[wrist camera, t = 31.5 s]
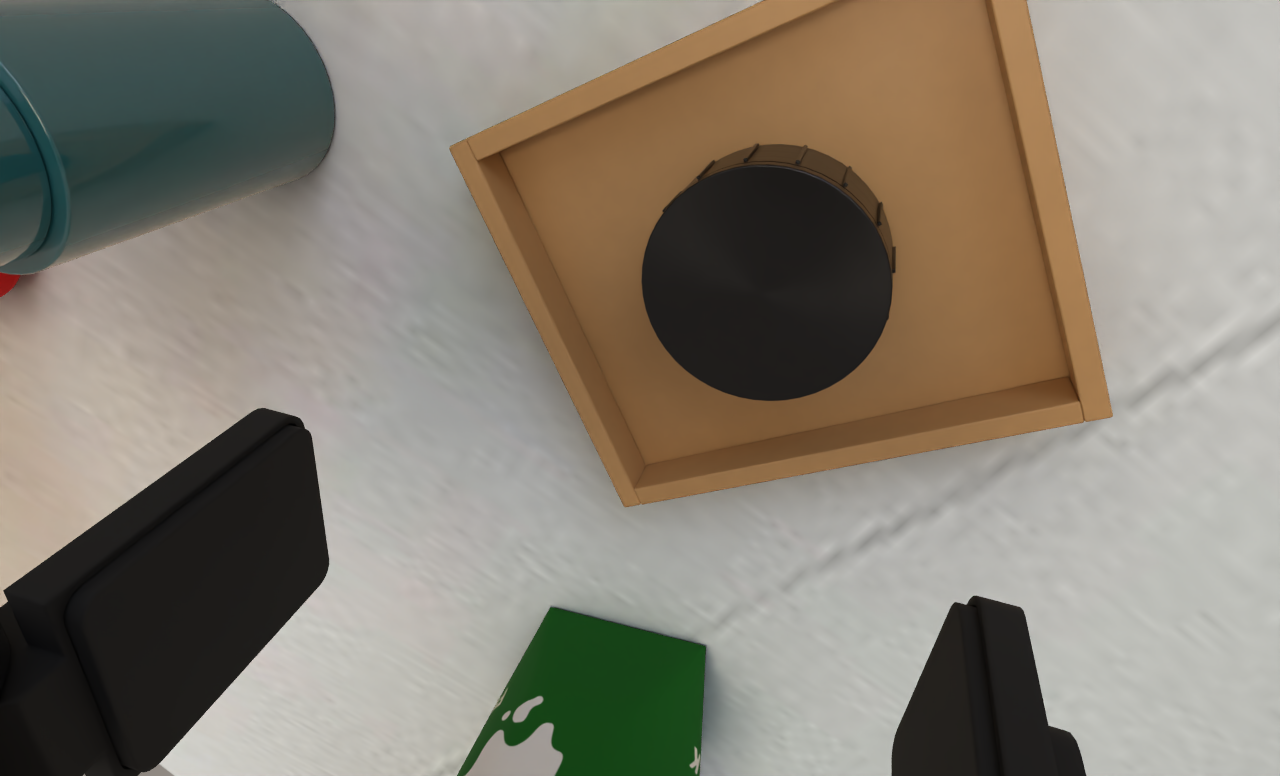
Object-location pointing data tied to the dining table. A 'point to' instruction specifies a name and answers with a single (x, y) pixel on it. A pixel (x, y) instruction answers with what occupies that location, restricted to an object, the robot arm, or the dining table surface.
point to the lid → (770, 273)
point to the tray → (894, 171)
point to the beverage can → (7, 282)
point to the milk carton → (596, 705)
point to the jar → (146, 117)
